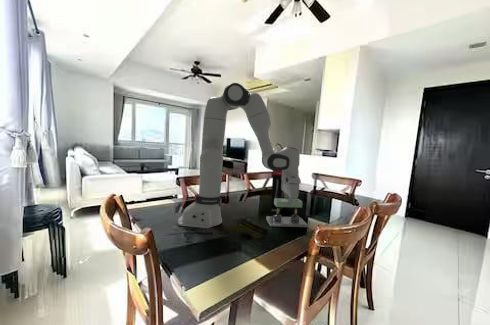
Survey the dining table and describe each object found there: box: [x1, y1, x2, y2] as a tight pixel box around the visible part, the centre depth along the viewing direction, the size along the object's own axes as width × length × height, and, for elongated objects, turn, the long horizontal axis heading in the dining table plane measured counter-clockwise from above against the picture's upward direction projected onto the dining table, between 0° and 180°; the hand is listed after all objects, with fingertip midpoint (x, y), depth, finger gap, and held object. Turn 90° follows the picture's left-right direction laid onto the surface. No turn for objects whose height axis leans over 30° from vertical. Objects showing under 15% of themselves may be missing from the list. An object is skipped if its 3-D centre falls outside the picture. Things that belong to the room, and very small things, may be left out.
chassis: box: [265, 208, 308, 228], centre depth 121 cm, size 20×11×8 cm, turn 96°
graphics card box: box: [270, 170, 284, 215], centre depth 143 cm, size 17×7×27 cm, turn 168°
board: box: [274, 198, 303, 208], centre depth 120 cm, size 14×6×3 cm, turn 96°
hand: (287, 202), depth 120 cm, fingers closed on board, 6 cm apart
